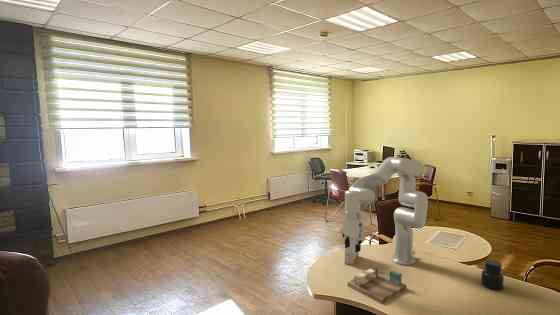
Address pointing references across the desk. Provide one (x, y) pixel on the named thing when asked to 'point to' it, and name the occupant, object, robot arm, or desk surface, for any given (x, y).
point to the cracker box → (351, 253)
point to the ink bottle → (492, 275)
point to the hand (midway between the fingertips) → (352, 249)
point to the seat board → (381, 287)
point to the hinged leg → (366, 276)
